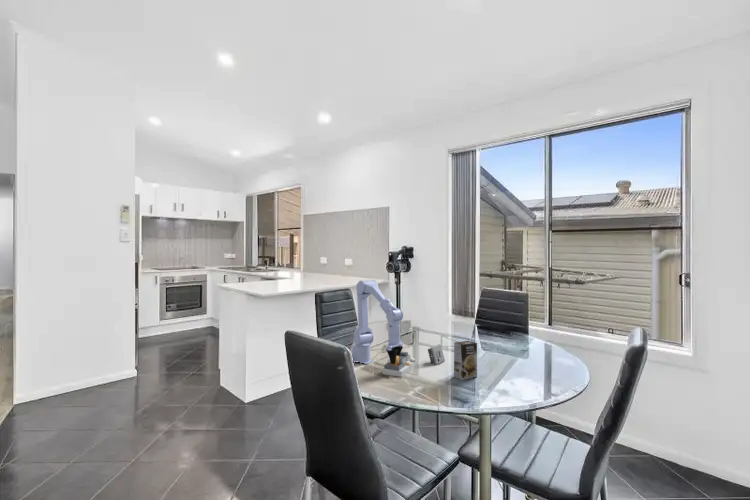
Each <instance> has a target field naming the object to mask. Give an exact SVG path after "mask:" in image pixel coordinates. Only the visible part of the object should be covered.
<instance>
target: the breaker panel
mask: <svg viewBox="0 0 750 500" xmlns="http://www.w3.org/2000/svg"><path fill="white" fill-rule="evenodd" d="M400 357H402V358H404V359H402V360H399V366H393V365H391V362H390V361H388V362H387V363H385V364H384V366H383V367H382V369H381V370H382V375H385V376H392V377H401V378H402V377H404V376H405V375H407V374H408V373H409V372H410V371H411V370H413V369H414V368H415V367H416V366H418V359H415V358H414V357H411V354H408V356H407V357H404V356H400Z"/></svg>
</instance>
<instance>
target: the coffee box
mask: <svg viewBox="0 0 750 500" xmlns="http://www.w3.org/2000/svg"><path fill="white" fill-rule="evenodd" d="M453 377H455V378H457V379H459V380H462V381H464V380H469V378H470V379H474V378H473V377H476V378H477V377H478V343H477V342H475V341H472V340H471V341H470V340H464V341H454V342H453Z"/></svg>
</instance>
